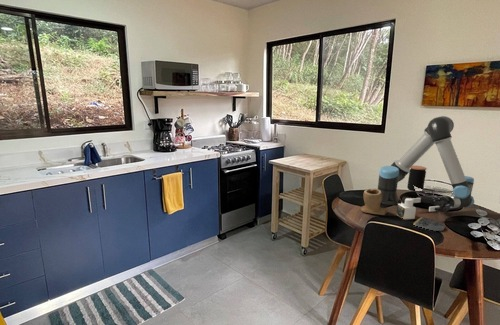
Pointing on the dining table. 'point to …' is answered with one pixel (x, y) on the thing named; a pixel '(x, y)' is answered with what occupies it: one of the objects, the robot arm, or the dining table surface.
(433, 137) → the robot arm
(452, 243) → the dining table surface
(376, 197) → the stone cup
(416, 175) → the coffee jar
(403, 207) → the medicine bottle
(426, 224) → the d plate
